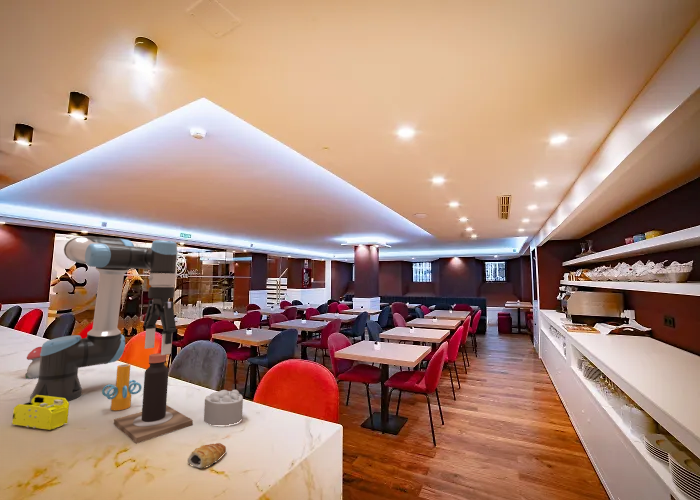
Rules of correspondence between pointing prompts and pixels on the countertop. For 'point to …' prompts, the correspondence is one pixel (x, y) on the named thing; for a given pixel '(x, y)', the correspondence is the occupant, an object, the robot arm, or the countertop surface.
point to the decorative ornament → (34, 363)
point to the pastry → (206, 455)
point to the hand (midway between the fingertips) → (157, 351)
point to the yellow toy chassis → (42, 412)
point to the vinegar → (155, 389)
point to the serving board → (151, 425)
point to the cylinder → (121, 389)
